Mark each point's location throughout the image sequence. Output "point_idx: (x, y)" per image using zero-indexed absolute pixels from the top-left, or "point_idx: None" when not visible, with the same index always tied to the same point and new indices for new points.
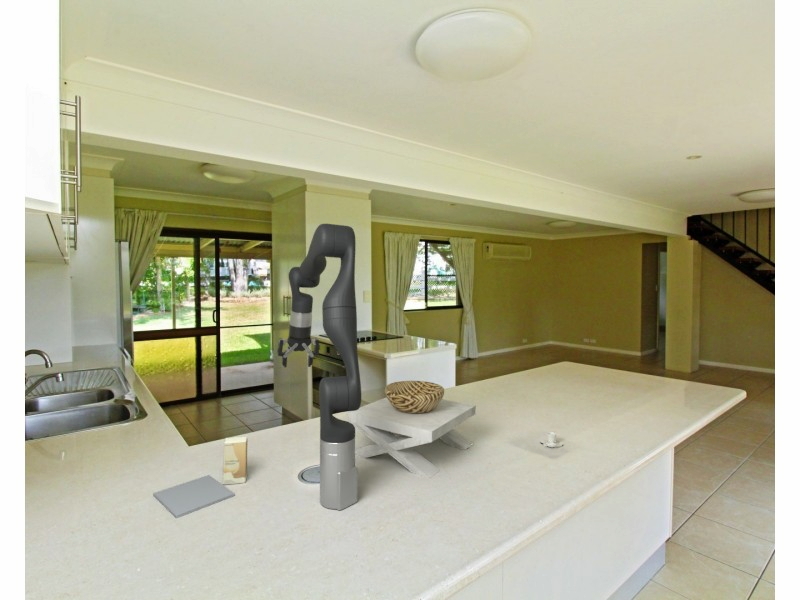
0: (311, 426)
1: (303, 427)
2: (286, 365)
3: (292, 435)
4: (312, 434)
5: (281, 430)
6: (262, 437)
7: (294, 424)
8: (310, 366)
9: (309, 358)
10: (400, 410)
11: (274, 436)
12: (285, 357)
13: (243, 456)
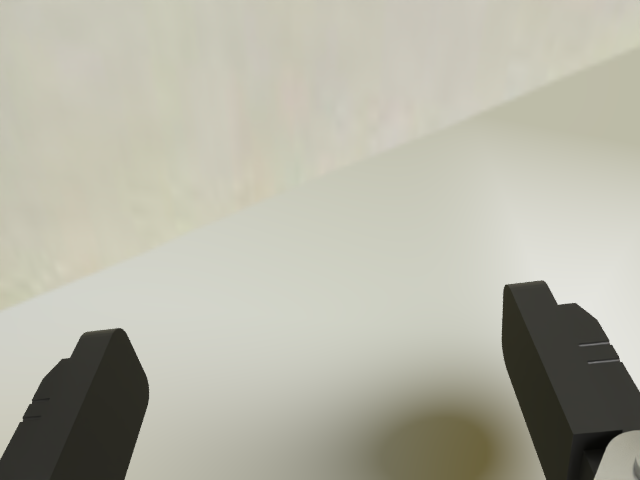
0: (211, 142)
1: (254, 135)
2: (518, 303)
3: (312, 27)
4: (192, 21)
5: (371, 112)
6: (481, 27)
7: (303, 180)
8: (87, 332)
9: (56, 462)
10: None
11: (415, 30)
12: (626, 439)
13: None
